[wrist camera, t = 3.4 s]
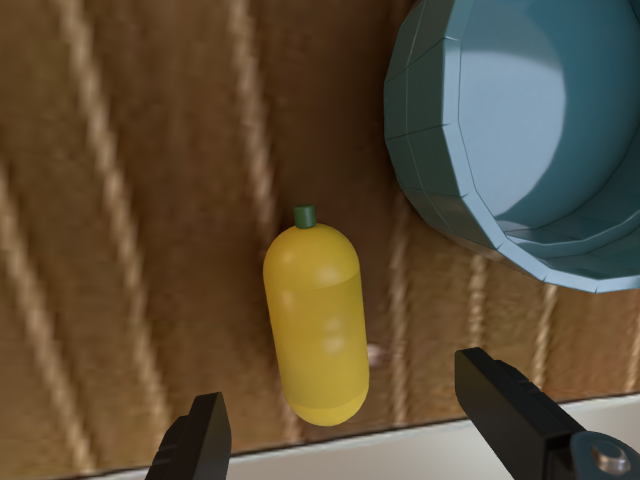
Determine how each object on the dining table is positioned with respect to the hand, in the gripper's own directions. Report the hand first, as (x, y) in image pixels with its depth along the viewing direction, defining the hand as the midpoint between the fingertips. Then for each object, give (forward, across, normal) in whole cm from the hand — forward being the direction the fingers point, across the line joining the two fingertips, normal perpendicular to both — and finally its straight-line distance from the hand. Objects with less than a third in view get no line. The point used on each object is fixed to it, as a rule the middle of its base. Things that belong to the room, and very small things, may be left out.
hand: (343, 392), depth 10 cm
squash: (+7, 0, 0) cm, 7 cm away
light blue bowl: (+7, -12, -9) cm, 16 cm away
